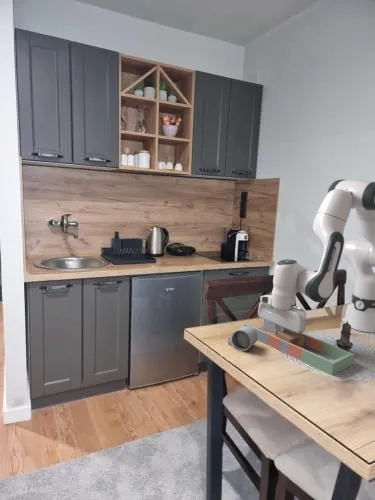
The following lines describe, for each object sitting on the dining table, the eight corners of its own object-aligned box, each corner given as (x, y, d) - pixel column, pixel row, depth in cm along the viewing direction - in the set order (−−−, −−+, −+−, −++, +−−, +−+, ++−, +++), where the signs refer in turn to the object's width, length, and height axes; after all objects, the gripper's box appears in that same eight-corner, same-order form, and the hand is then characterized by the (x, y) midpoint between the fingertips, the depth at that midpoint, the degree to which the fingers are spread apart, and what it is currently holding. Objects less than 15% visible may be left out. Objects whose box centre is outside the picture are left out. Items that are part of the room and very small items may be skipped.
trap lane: (265, 327, 148) (266, 318, 147) (352, 364, 118) (354, 353, 118) (243, 333, 140) (244, 323, 139) (331, 375, 110) (333, 363, 109)
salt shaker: (353, 356, 125) (358, 325, 123) (336, 354, 126) (340, 322, 124) (349, 349, 130) (354, 319, 129) (333, 347, 132) (337, 317, 130)
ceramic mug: (258, 346, 128) (259, 326, 127) (249, 353, 121) (251, 333, 120) (232, 338, 134) (233, 319, 133) (222, 345, 127) (224, 325, 126)
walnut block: (289, 341, 134) (291, 329, 133) (302, 349, 128) (304, 336, 127) (275, 344, 131) (276, 331, 130) (288, 352, 125) (289, 339, 124)
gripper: (311, 308, 126) (306, 344, 128) (267, 293, 142) (264, 325, 144) (301, 311, 122) (296, 347, 124) (257, 295, 138) (253, 328, 140)
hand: (278, 335), depth 134 cm, fingers closed
